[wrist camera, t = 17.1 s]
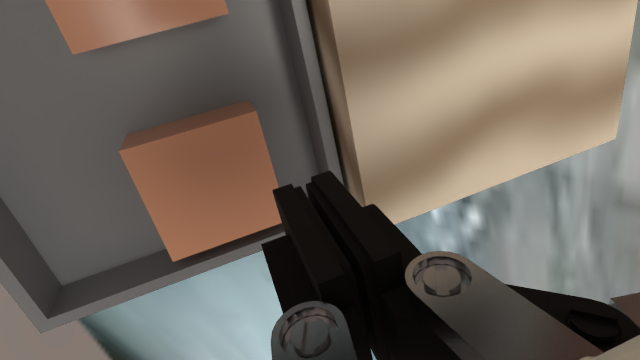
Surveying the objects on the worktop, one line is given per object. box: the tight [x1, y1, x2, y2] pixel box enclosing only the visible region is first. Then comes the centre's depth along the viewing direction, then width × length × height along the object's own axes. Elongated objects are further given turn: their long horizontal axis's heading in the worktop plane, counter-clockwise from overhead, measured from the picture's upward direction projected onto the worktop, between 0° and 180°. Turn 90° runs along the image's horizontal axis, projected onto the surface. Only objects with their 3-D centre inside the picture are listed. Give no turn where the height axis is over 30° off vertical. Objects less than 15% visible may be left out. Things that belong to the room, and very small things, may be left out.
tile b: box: [119, 100, 282, 262], centre depth 19 cm, size 6×6×2 cm
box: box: [0, 0, 344, 333], centre depth 16 cm, size 20×16×3 cm
